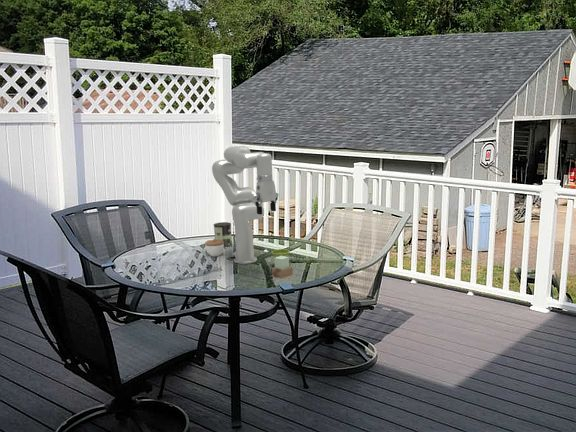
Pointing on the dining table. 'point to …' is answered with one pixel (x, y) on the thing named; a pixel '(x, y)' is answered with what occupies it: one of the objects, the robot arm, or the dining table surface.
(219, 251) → the lidded jar
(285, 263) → the sage cube
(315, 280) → the dining table surface
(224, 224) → the coffee can
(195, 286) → the dining table surface
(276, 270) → the walnut base block
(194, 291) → the dining table surface
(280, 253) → the plant pot
